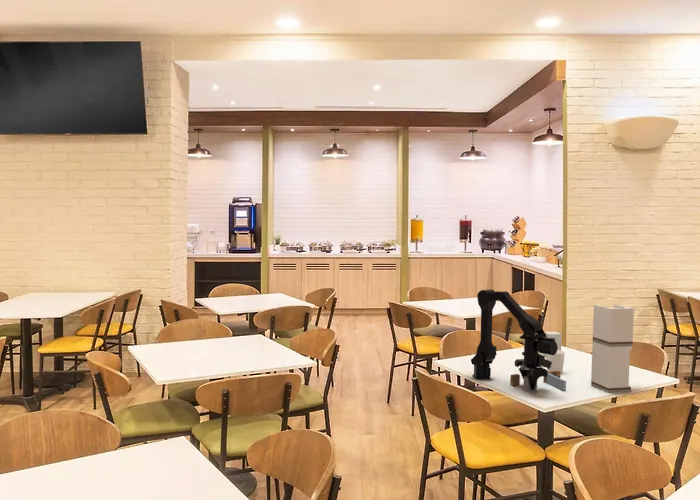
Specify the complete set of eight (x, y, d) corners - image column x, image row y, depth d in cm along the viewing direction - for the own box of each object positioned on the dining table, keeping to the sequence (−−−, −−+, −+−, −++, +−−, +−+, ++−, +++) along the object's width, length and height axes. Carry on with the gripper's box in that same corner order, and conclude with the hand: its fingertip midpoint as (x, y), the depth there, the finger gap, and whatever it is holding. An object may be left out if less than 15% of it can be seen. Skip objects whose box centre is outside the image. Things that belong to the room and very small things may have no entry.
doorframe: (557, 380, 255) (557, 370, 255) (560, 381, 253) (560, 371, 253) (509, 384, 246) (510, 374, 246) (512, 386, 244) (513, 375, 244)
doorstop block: (527, 392, 235) (527, 378, 235) (523, 389, 239) (523, 376, 239) (536, 391, 236) (537, 378, 236) (532, 389, 240) (532, 376, 240)
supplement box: (561, 358, 298) (562, 334, 297) (546, 358, 298) (547, 333, 297) (556, 355, 305) (557, 331, 305) (542, 354, 305) (543, 331, 305)
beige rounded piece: (565, 375, 263) (565, 353, 263) (547, 374, 265) (547, 352, 264) (562, 371, 271) (562, 350, 270) (544, 370, 272) (545, 349, 272)
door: (546, 382, 250) (546, 373, 250) (551, 382, 250) (551, 373, 250) (563, 390, 238) (564, 381, 237) (568, 390, 238) (568, 380, 238)
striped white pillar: (630, 392, 238) (634, 308, 237) (608, 393, 236) (611, 308, 234) (612, 384, 249) (615, 304, 248) (591, 385, 247) (593, 304, 246)
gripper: (560, 355, 229) (559, 394, 229) (539, 345, 247) (538, 381, 248) (534, 356, 227) (533, 395, 228) (514, 346, 246) (513, 382, 246)
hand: (530, 388), depth 238 cm, fingers closed on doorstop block, 4 cm apart
